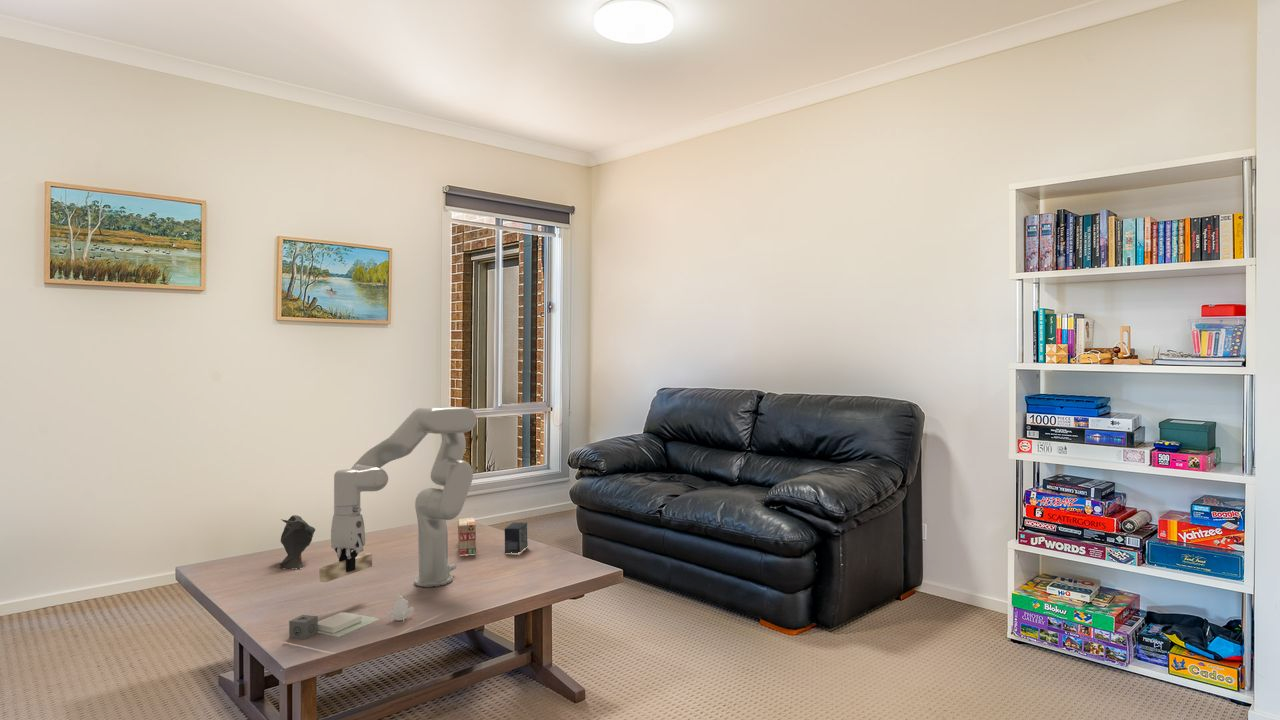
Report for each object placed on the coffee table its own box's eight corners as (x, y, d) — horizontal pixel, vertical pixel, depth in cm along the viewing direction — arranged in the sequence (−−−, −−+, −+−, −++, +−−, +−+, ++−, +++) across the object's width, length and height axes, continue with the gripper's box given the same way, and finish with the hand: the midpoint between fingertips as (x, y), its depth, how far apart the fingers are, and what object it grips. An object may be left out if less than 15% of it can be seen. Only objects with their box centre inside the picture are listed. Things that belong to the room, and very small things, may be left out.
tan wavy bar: (366, 565, 230) (366, 553, 230) (372, 566, 229) (372, 553, 229) (319, 581, 213) (319, 568, 213) (325, 582, 212) (325, 568, 212)
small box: (512, 548, 290) (512, 521, 290) (528, 548, 289) (527, 522, 289) (503, 555, 279) (503, 527, 279) (520, 555, 278) (519, 528, 278)
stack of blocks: (457, 543, 298) (457, 513, 298) (473, 542, 300) (473, 512, 300) (459, 557, 277) (459, 524, 277) (476, 555, 279) (475, 523, 279)
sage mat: (344, 613, 215) (344, 612, 215) (380, 620, 209) (380, 618, 209) (302, 630, 201) (302, 629, 201) (338, 638, 195) (338, 636, 195)
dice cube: (302, 632, 200) (302, 614, 200) (317, 634, 199) (317, 616, 199) (289, 639, 195) (289, 621, 195) (305, 641, 194) (305, 622, 194)
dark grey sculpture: (326, 558, 277) (325, 511, 277) (300, 569, 262) (300, 519, 262) (292, 556, 280) (292, 510, 280) (265, 567, 265) (265, 518, 265)
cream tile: (341, 612, 210) (312, 623, 201) (361, 615, 207) (333, 627, 198) (341, 617, 210) (312, 629, 201) (361, 621, 207) (333, 633, 198)
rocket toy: (413, 618, 211) (413, 591, 211) (404, 625, 205) (404, 597, 205) (396, 617, 211) (396, 590, 212) (386, 623, 206) (387, 596, 206)
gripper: (376, 510, 221) (375, 570, 221) (338, 506, 228) (338, 564, 228) (356, 514, 215) (356, 576, 214) (318, 510, 221) (318, 570, 221)
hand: (347, 570), depth 221 cm, fingers closed on tan wavy bar, 2 cm apart
